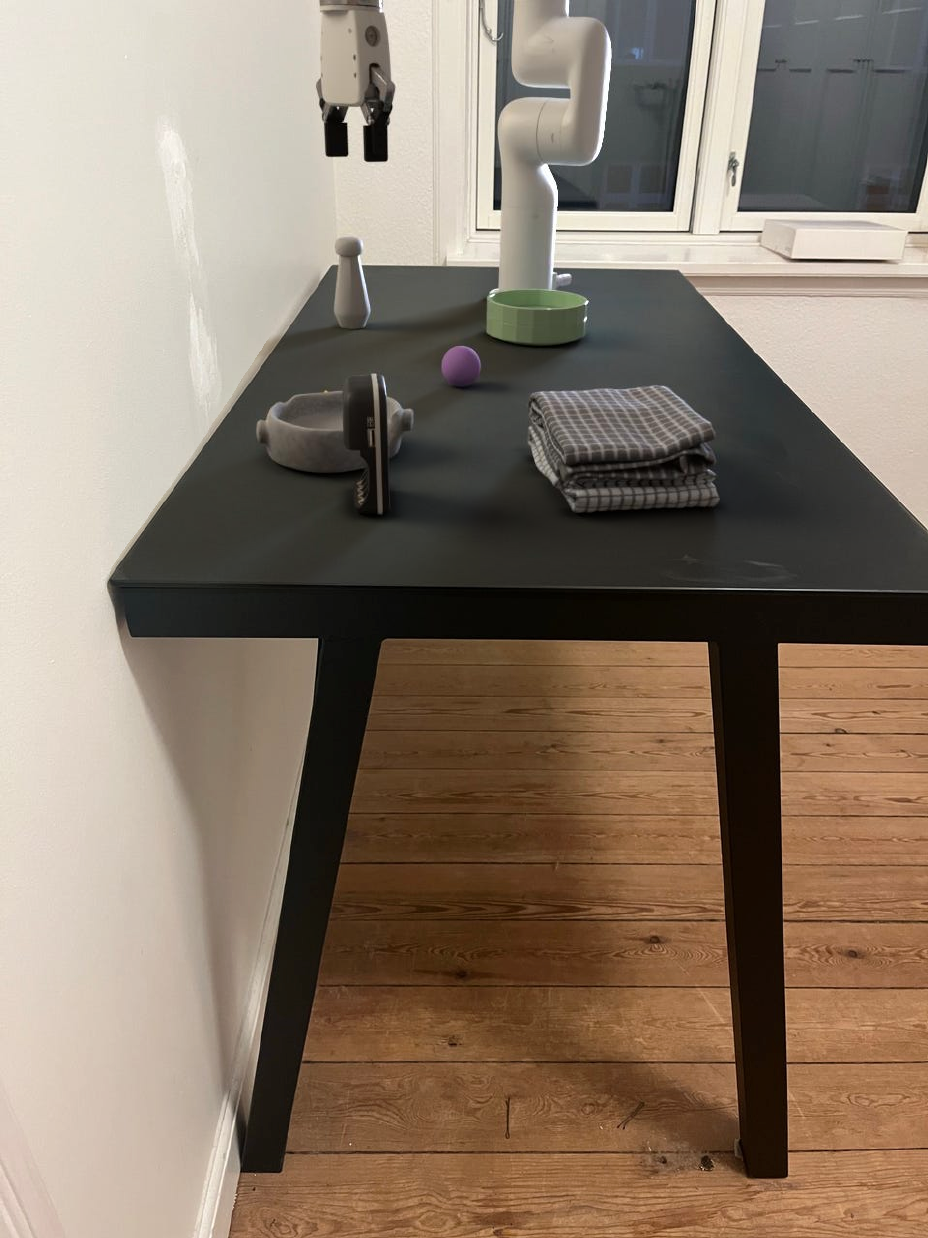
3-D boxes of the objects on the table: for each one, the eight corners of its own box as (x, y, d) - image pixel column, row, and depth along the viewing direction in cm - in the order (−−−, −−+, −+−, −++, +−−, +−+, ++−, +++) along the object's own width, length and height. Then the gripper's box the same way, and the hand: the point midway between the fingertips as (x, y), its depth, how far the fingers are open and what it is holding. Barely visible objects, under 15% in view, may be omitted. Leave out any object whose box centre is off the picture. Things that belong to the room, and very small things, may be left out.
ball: (464, 378, 120) (465, 339, 118) (488, 387, 117) (489, 347, 114) (433, 384, 118) (433, 344, 115) (457, 393, 114) (457, 353, 112)
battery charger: (346, 488, 87) (340, 369, 81) (386, 487, 88) (382, 368, 82) (347, 519, 81) (340, 392, 75) (390, 517, 82) (386, 391, 76)
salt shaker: (374, 322, 147) (371, 235, 140) (367, 330, 142) (364, 241, 136) (338, 320, 148) (334, 234, 141) (330, 329, 143) (325, 239, 136)
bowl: (539, 320, 150) (541, 285, 148) (605, 338, 140) (608, 301, 137) (466, 332, 142) (466, 295, 140) (530, 352, 132) (532, 313, 129)
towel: (656, 444, 99) (665, 372, 95) (721, 512, 84) (736, 429, 80) (519, 449, 97) (523, 376, 93) (560, 520, 82) (567, 435, 78)
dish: (425, 444, 98) (424, 398, 96) (359, 488, 87) (356, 438, 85) (311, 423, 103) (308, 380, 101) (235, 463, 92) (229, 415, 90)
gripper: (417, -4, 105) (417, 163, 113) (342, 4, 117) (347, 154, 125) (361, -9, 101) (365, 164, 109) (289, -1, 113) (298, 155, 121)
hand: (356, 158), depth 117 cm, fingers open, 9 cm apart
